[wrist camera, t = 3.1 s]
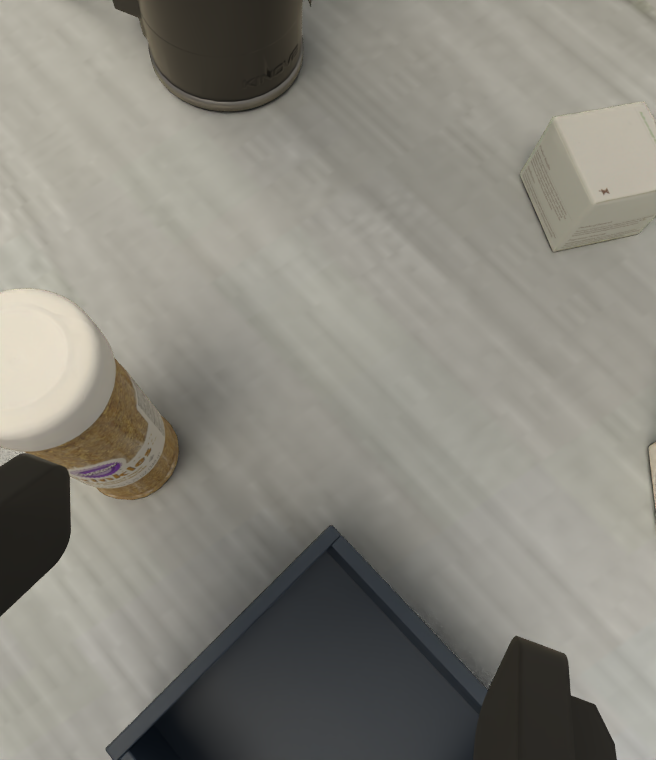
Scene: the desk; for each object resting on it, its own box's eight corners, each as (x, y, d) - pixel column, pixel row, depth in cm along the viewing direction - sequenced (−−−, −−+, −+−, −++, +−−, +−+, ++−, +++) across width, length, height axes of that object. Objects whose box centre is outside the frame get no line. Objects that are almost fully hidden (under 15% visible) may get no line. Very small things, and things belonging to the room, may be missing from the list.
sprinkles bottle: (109, 518, 28) (-42, 469, 15) (71, 436, 29) (-99, 326, 16) (197, 471, 29) (124, 388, 16) (157, 393, 30) (59, 257, 17)
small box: (640, 236, 35) (693, 183, 30) (550, 255, 34) (591, 204, 29) (601, 157, 36) (647, 95, 32) (515, 174, 36) (549, 113, 31)
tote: (137, 719, 25) (104, 749, 21) (324, 532, 28) (331, 523, 24) (327, 958, 23) (335, 1050, 19) (509, 729, 26) (555, 761, 22)
